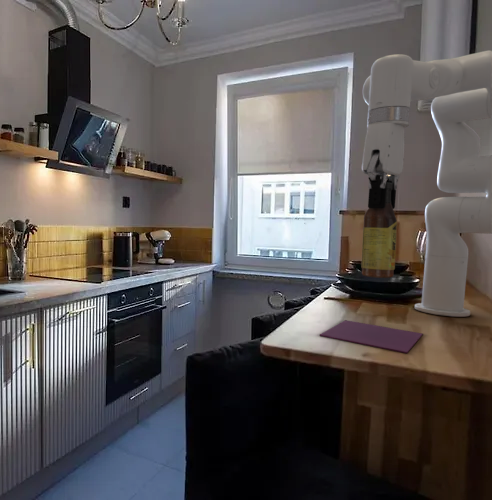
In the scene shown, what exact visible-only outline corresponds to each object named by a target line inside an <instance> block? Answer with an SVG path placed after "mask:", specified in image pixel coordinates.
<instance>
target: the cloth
mask: <svg viewBox="0 0 492 500" xmlns="http://www.w3.org/2000/svg"><path fill="white" fill-rule="evenodd" d="M319 336H320V337H324V338H327V339H328V338H329V339H334V340H338V341H342V342H343V341H344V342H349V343H353V344H357V345H362V346H368V347H374V348H378V349H383V350H387V351H393V352H397V353H402V354H409V352H410V351H411V349H412V348H413V347H415V345H416V344H417V343H418V341H419V340H420V339H421V338H422V337H423V336H424V333H422V332H416V331H410V330H405V329H400V328H399V329H398V328H393V327H388V326H383V325H382V326H381V325H375V324H371V323H363V322H358V321H353V320H348V319H345V320H343V321H341V322H339V323H337V324H335V325H334V326H332V327H330V328H329V329H327V330H325V331H323V332H322V333H319Z"/></svg>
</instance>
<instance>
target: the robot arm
mask: <svg viewBox="0 0 492 500" xmlns="http://www.w3.org/2000/svg"><path fill="white" fill-rule="evenodd" d="M362 98H363V100H364V102H365V103H366V104H367V106H368V109H367V122H366V134H365V139H364V145H363V154H362V160H361V161H362V164H361V172H362V173H363V174H365V175H366V176H368V201H367V208H368V209H369V208H385V206H386V193H387V189H386V188H385V184H386V183H392V190H391V205H392V208H393V210H394V209H396V199H397V190H398V181H399V179H400V175H401V174H403V171H404V162H405V144H406V143H405V140H406V139H405V138H406V136H405V128H407V127H409V126H410V114H411V113H410V112H411V102H421V101H425V100H426V101H427V100H431V99H432V101H431V104H430V113H431V117H432V120H433V122H434V124H435V127H436V129H437V132H438V134H439V137H440V140H441V149H440V156H439V164H438V169H437V176H436V177H437V178H436V185H437V188H438V189H439V190H440V191H441V192H443V193H448V194H476V193H477V194H480V193H483V194H485V196H443V197H437V198H434V199H432V200H430V201H429V202H428V203H427V204H426V206H425V209H424V223H425V230H426V231H425V232H426V239H425V240H426V242H425V256H424V266H423V267H424V269H423V278H422V279H423V280H422V290H421V291H422V292H421V302H418V303H415V304H414V309H415V310H416V311H418V312H421V313H426V314H431V315H435V316H436V315H437V316H445V317H454V318H456V317H457V318H459V317H460V318H463V317H464V318H465V317H469V316H471V310H469V309H467V308H464V307H465V297H466V284H467V275H468V263H469V247H468V245H467V243H466V241H465V240H464V239H463V237H461V235H460V234H486V235H488V234H489V235H490V234H492V155H490V154H489V155H480V151H481V145H482V139H481V137H480V135H479V134H478V133H477V132H476V131H475V129H473V128H472V127H471V126H469V125H468V124H467V123H466V122H471V121H472V122H473V121H481V120H487V119H488V120H489V119H492V50H483V51H479V52H475V53H469V54H466V55H462V56H457V57H453V58H445V59H434V60H433V59H432V60H429V61H428V60H427V61H426V60H425V61H424V60H416V59H413V58H412V57H411V56H410V55H408V54H401V53H399V54H389V55H385V56H382V57H380V58H378V59H376V60H374V62H373V64H372V65H371V68H370V75H369V76H368V77H367V78H366V79H365V81H364V83H363V86H362ZM383 188H385V189H383Z"/></svg>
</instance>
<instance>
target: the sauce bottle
mask: <svg viewBox="0 0 492 500" xmlns="http://www.w3.org/2000/svg"><path fill="white" fill-rule="evenodd" d="M385 188H386V189H387V193H386V206H385V208H368V209H367V210H366V212H365V213H364V216H363V228H362V240H361V242H362V243H361V274H362V276H363V277H367V278H371V279H374V278H375V279H391V278H393V277H394V270H395V269H396V251H397V230H398V229H397V225H398V220H397V218H396V214H395V211H394V209H393V208H392V205H391V190H392V183H386V184H385ZM385 188H383V189H385Z"/></svg>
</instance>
